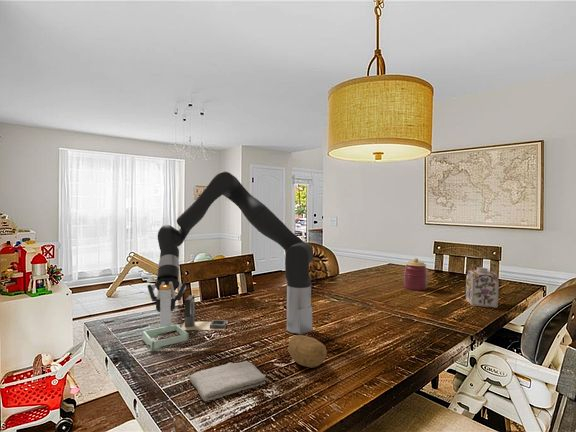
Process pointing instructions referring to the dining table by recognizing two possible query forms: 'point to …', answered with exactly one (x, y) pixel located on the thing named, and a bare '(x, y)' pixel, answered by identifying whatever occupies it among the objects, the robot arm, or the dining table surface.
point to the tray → (156, 345)
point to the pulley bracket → (193, 325)
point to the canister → (415, 275)
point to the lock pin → (165, 305)
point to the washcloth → (226, 379)
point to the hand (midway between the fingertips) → (165, 310)
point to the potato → (307, 351)
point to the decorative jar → (482, 288)
